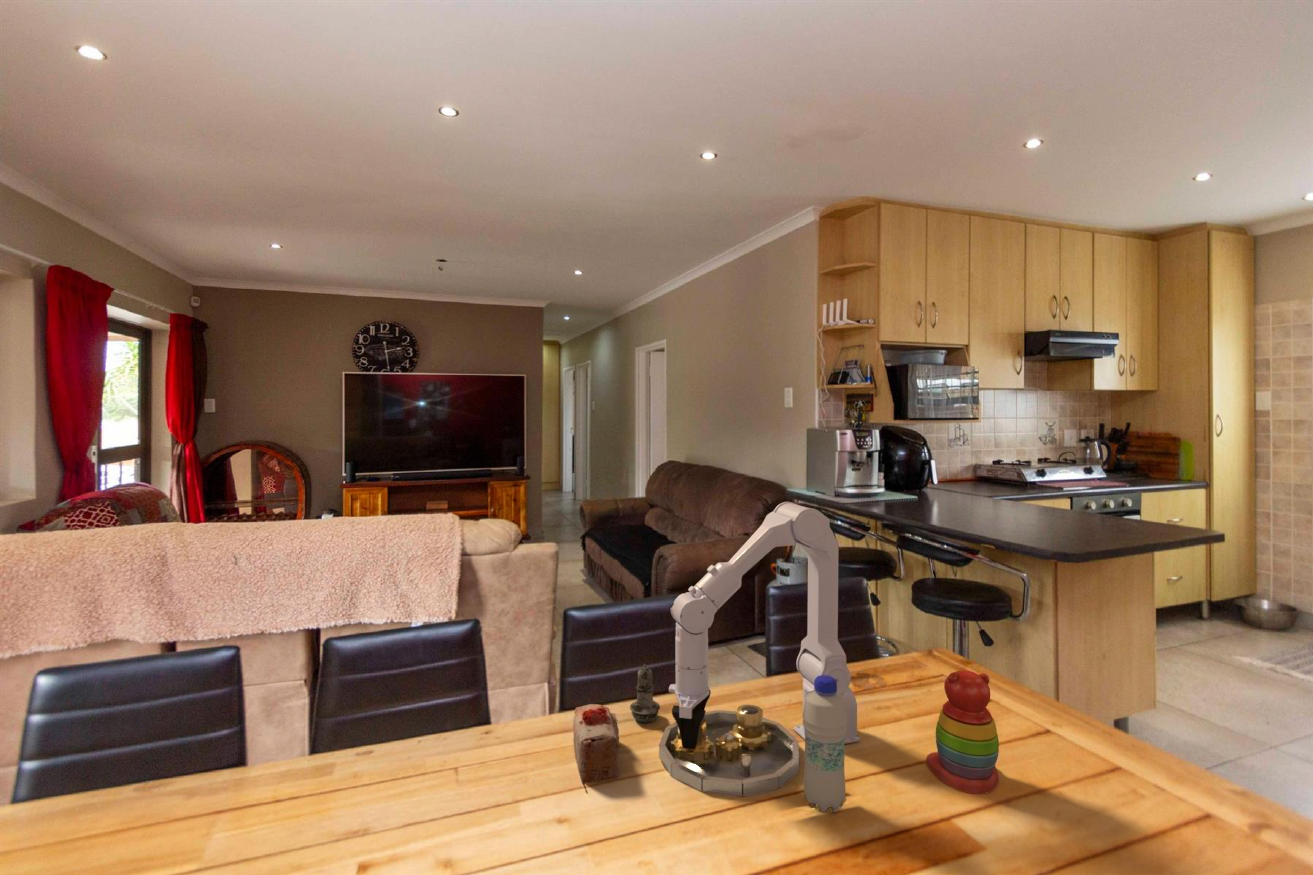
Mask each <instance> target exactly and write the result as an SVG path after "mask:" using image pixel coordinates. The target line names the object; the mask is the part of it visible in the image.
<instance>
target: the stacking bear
mask: <svg viewBox="0 0 1313 875" xmlns="http://www.w3.org/2000/svg"><path fill="white" fill-rule="evenodd" d="M989 683H990V677H989V675H988V674H986V673H984V672H981V673H979V674H978V673H976V672H974V671H971V670H966V669H965V670H956V671H953V672H951V673H949V674H948V676H947V677H946V678H945V680H944V684H943V687H944V692H945V695H946V697H947V701H946V702H944V704H943V705H942V709H941V710H940V713H939V715H938V720H937V722H936V727H935V744H936V748H937V751H934V752H933V751H932V752H930V753H928V755H927V756H926V758H925V764H926V766H927V768H928V769H929V770H930V772H931V773H932V775H934V776H935V778H937V779H938V780H940V781H941V782H943V783H944V784H946V785H947V786H949V787H950V788H953V789H955V790H958V791H960V792H965V793H969V794H976V795H977V794H978V795H980V794H981V795H982V794H988V793H991V792H993V791H995V789H997V787H998V785H999V772H998V768H997V767H996V763H997V761H998V758H999V753H1000V748H999V747H1000V741H999V735H998V731H997V725H996V721H995V718H993V715H992V714H991V712H990V711H989V709H988V708H987V706H988V705H989V702H990V701H991V700H990V699H991V689H990V686H989Z"/></svg>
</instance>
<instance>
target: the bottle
mask: <svg viewBox="0 0 1313 875" xmlns="http://www.w3.org/2000/svg"><path fill="white" fill-rule="evenodd" d="M847 721H848V720H847V714H846V706H845V700H844V698H843V697H842V696H841V695H840V694H838V693H837V682H836V680H835V679H834V678H833V677H831V676H828V675H820V676H817V677H816V678H815V681H814V690H813V691H810V692H808V693H807V694H806V696H805V703H804V709H803V708H802V725H803V726H804V728H805V739H804V771H803V785H802V786H803V788H802V789H803V794H804V795H805V798H806V800H807V802H808V803H809V806H810V808H812V809H816V807H817V806H818V808H819V810H820V812H821V813H826V811H827V809H828V808H830V811H831V812H832V813H836V812H837V811H839V809H840V808H841V807H843V805H844V803H845V801H846V775H845V774H846V773H845V745H846V744H845V732H846V730H847V726H846V725H847Z"/></svg>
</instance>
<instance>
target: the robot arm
mask: <svg viewBox="0 0 1313 875" xmlns="http://www.w3.org/2000/svg"><path fill="white" fill-rule="evenodd" d="M830 526H831V525H830V518H828V517H827V516H826V515H824V514H823V513H822V512H821V511H820V510H818V509H816V508H811V507H806V506H802V505H799V504H796V503H794V502H791V501H784V502H781V503H779V504H778V505H777V506H776V507H775V508H774V509H773V511H771V512H769V513H767V515H766V516H765V518H764V519H763V522H762V523H761V524H760V525H759V527H758V528H757V529H756V531H755V532H754V533H753V534H752V535H751V536H750V537H749V538H748V539H747V541H746V542H744V544H742V545H741V547H740V548H739V549H738V550H737V551H736V553H734V555H733V556H732V557H731V558H730V559H729V561H726V562H717V563H716V564H715V565H713V564H711V565H710V566H708V568H707V569H706V571H707V573H705V575H704V576H703V577H702V578H701V579H700V580H698V582H697V583H696V584H695V585H694V586H693V585H691V586H690V587H689V588H688V589H687V590H688V592H685V593H681V594H679V595H678V596H677V597H676V598H675V599H674V601H673V605H672V607H670V614H671V617H672V618H673V619H674V620H675V637H674V639H675V642H674V643H675V648H674V649H675V661H674V662H675V683H672V684H670V685H669V687H668V692H669V693H671V694H672V693H673V694H674V696H675V697H676V700H677V702H678V704H679V705H675V704H674V705H673V706H672V708H671V715H672V717H673V719H674V720H675V722H676V723H677V725H678V728H679V731H680V736H681V741H682V745H683V748H685V749H695V748H696V745H697V740H698V733H699V727H700V724H701V721H702V719H703V717H704V715H705V712H707V710H705V709H706V705H707V702H708V701H709V699H710V697H711V693H712V692H711V689H710V687H709V634H708V633H709V628H711V626H713V622H714V620H715V614H716V613H717V612H718V610H719V609H720V608H721V607H722V606H723V605H724V604H726V602H727V601H728V600H729V599H730V598H731V597H732V596H733V595H734V594H736V592H737V591H738V590H739V589H740V588H741V587H742V578H743V576H744V575H745V574H746V573H747V572H748V571H749V570H751V569H752V568H753V567H754V566H755V565H756V564H757V563H758V562H760V560H761V559H763V558H764V557H765V556H766V555H767V554H769V552H771V551H772V550H773V549H774V548H776V547H790V546H796V543H797V545H799V547H801V548H802V549H803V550H804V551H805V552H807V634H806V636H805V637H804V638H803V639H802V640H801V642H800V650H799V653H798V655H797V658H796V662H795V663H796V669H797V672H798V673H799V675H801V676H802V710H803V709H804V703H805V696H806V694H807V693H808V692H810V691H813V690H814V681H815V678H816V677H817V676H820V675H828V676H831V677H833V678H834V679H835V680H836V682H837V693H838V694H840V695H841V696H842V697H843V698H844V700H845V706H846V714H847V720H848V721H847V725H846V726H847V730H846V732H845V745H847V744H852V743H857V742H860V737H859V736H858V702H857V698H856V695H855V693H854V692H853V690H852V688H850V685H851V679H852V676H851V671H850V669H849V667H848V665H847V655H846V653H845V651H844V649H843V646H842V645H841V644H840V642H839V639H838V638H839V637H838V635H839V634H838V632H839V631H838V630H839V623H838V622H839V550H840V549H839V543H838V540H837V538H836V537H835V534H834V532H833V530H832V529H831V527H830ZM793 730H794V731H795V733H797V734H798V735H799V736H800V737H801V738H802V739H803V740H805V728H804V726H803V724H801V725H796V726H795V725H794V726H793Z"/></svg>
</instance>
